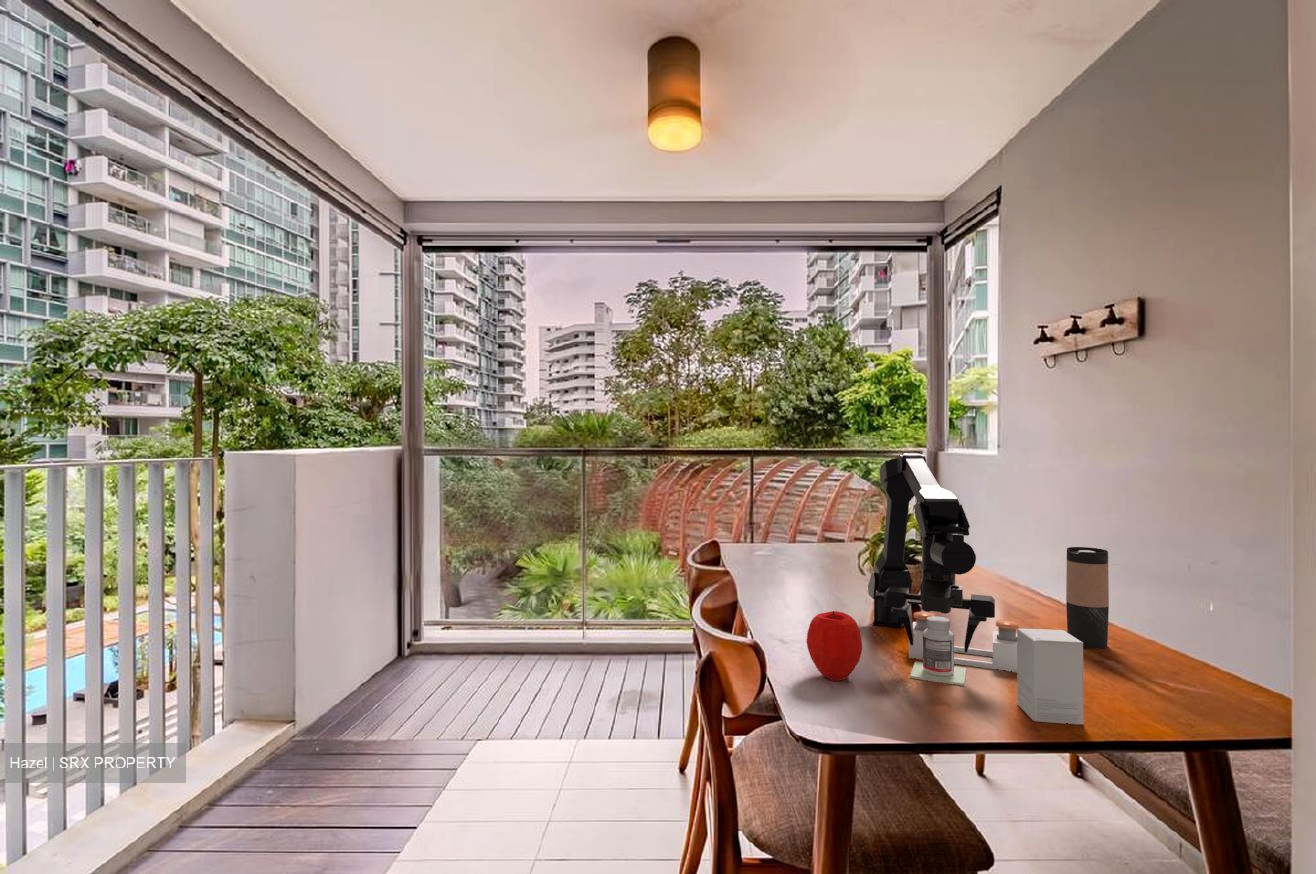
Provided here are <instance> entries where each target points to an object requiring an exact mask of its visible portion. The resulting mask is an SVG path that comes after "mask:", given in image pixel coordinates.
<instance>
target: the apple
mask: <svg viewBox="0 0 1316 874" xmlns="http://www.w3.org/2000/svg"><path fill="white" fill-rule="evenodd" d="M806 645H807V650H808V653H809V656H810V658H811V661H812V663H813V664H814V665H815V667H816V668H817V671H819V673H820V675H822V676H823V677H824V678H827V679H829V680H832V681H839V682H840V681H843V680H846V679H847V678H848V677H849V676H850V675H851V674H852V673H853V671H854V670H855V669H856V667H857V665H858V663H859V662H860V660H861V656H862V652H863V641H862V635H861V630H860V627H859V625H858V623H857V621H856V620H855V619H854V618H853V617H852V616H851V615H849V614H848V613H845V612H843V611H837V610H833V611H832V610H831V611H826V612H821V613H818V614H817V615H815V616H814V617H813V618H812V619H811V621H810V623H809V626H808V629H807V633H806Z"/></svg>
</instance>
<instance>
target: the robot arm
mask: <svg viewBox="0 0 1316 874" xmlns="http://www.w3.org/2000/svg"><path fill="white" fill-rule="evenodd" d="M879 480H880V482H881V486H882V488H883V489H884V492H885V494H886V495H887V496H886V497H887V501H886V513H885V514H886V515H885V526H884V537H883V547H882V548H883V549H882V554H881V556H880V557H879V558H877V560H876V561H875V563H874V567H873V572H871V574H870V578H869V580H868V584H867V592H868V596H869V597H870V598H871V599H873V621H872V625H874V626H875V625H876V626H882V627H884V626H885V627H889V628H890V627H891V628H892V627H893V628H900V629H902V628H903V626H904V629H905V632H906V636H907V638H908V642H909V641H910V644H911V645H913V644H914V633H913V622H914V621H913V614H912V613H913V612H912V605H920V606H921V607H920V608H921V610H922V612H927V613H931V612H935V613H941V614H945V615H946V614H950V613H951V611H952V609H959V610H969V611H968V619H967V625H966V631H965V639H964V644H963V645H964V646H963V647H964V648H965V652H967V650H968V648H970V644H971V641H972V640H973V636H974V634H975V631H976V630H977V627H978V626H979V624H980V623H981V622H987V619H992V618H993V619H994V618H995V617H996V601H995V598H994V597H993V596H992V595H983V594H973V593H972V594H970V598H964V595H963V594H964V593H963V592H964V591H963V590H964V589H963V585H959V584H958V585H957V584H956V575H959V576H960V575H964V574H965V575H966V574H967V573H969V572H970V571H971V570H973V569H974V567H975V565H976V561H977V555H976V553H975V550H974V548H973V547H972V546H971V545H970V544H969V543H968V542H966V541H965V537H966V536H967V537H968V536H969V535H970V531H969V530H970V523H969V520H968V517H967V515H966V512H965V509H964V507H963V505H962V503H961V502H960V500H959V499H958V498H957V497H956V496H955V494H954V493H952V491H950V490H949V489H948V490H947V489H945V488H942V487H940V484H939V482H938V481H937V479H936V478H935V476H934V475H933V472H932V471H931V469H930V468H929V466H928V464H927V459H926V456H925V455H924V454H921V453H902V454H899V455H898V456H896V457H895V458H892V459H889V460H886V461H884V462H883V464H881V465H880V468H879ZM914 498H915V499H916V503H915V506H914V517H915V519H916V523H917V525H918V527H919V529H920V533H921V534H920V535H921V537H922V538H921V583H920V587H919V589H920V590H919V594H918V593H912V586H913V582H914V581H913V579H912V576H911V572H910V570H909V568H908V566H907V565H906V563H905V561H904V560H905V552H906V551H905V550H906V549H905V548H906V539H907V528H908V518H909V517H908V516H909V508H910V507H909V505H910V502H911V501H912V500H913V499H914Z"/></svg>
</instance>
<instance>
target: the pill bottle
mask: <svg viewBox="0 0 1316 874" xmlns="http://www.w3.org/2000/svg"><path fill="white" fill-rule="evenodd" d="M926 624H927V627H928V628H927V629H925V630H924V632H923V660H922V662H923V669H924V671H925V672H927V673H929V674H932V675H937V676H950V675H952V674H953V673H954V667H955V664H954V657H955V652H954V646H955V634H954V633H953V632H952V631H951V630H950V628H951V621H950V619H949V618H947V617H943V616H936V615H935V616H932V617H927V622H926Z"/></svg>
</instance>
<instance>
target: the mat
mask: <svg viewBox="0 0 1316 874" xmlns="http://www.w3.org/2000/svg"><path fill="white" fill-rule="evenodd" d="M911 669H912V670H911V673H910V675H909V678H910V679H914V680H921V681H927V680H928V681H927V682H933V683H934V682H935V683H941V682H943V684H947V683H948V684H949V685H954V684H955V685H956V686H962V687H965V682H966V676H967V675H966V674H967V668H966V667H959V666H954V673H953V674H952V675H950V676H937V675H932V674H929V673H927V672H925V671H924V669H923V661H914V663H913V666H912V668H911Z"/></svg>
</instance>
